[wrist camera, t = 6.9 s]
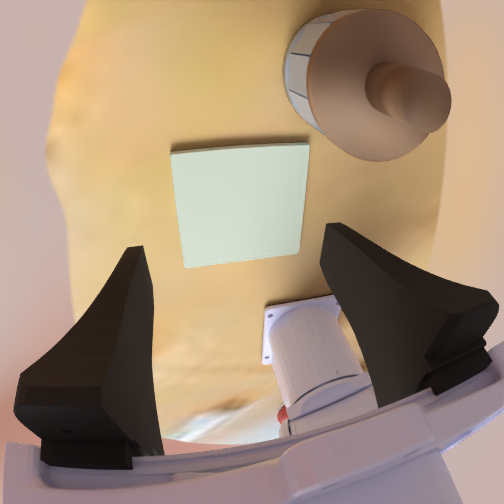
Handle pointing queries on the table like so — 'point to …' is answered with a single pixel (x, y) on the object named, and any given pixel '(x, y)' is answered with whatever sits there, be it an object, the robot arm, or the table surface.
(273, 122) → the table surface
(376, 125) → the lid
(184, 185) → the mat
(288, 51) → the bowl
